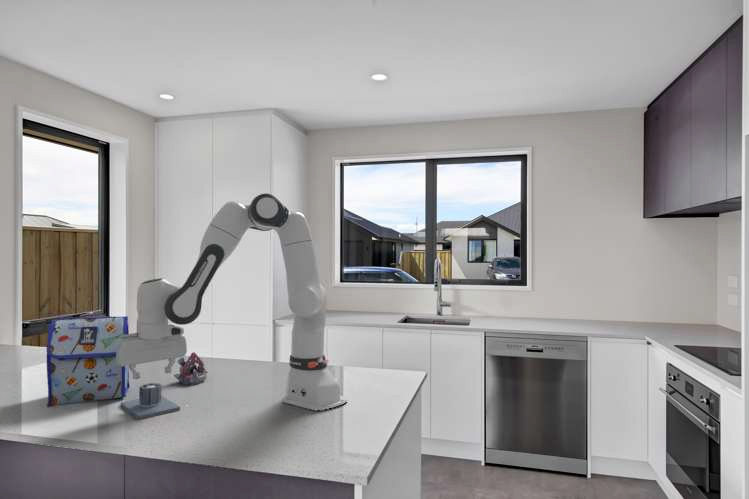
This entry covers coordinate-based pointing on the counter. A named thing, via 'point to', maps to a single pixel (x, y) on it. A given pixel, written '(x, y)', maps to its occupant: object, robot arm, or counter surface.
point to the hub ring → (150, 394)
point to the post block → (149, 407)
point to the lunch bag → (85, 360)
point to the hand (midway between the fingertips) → (152, 375)
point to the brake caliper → (191, 370)
